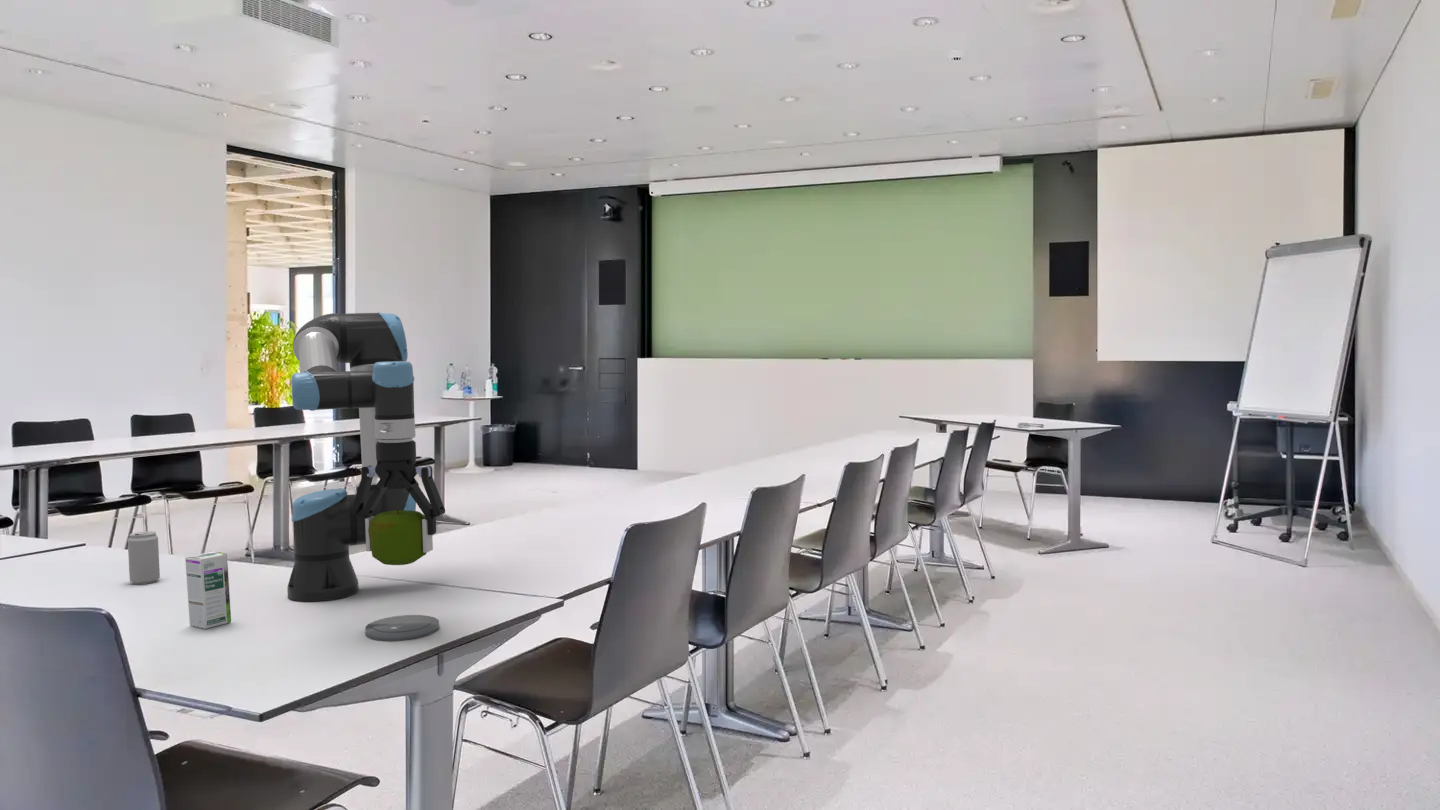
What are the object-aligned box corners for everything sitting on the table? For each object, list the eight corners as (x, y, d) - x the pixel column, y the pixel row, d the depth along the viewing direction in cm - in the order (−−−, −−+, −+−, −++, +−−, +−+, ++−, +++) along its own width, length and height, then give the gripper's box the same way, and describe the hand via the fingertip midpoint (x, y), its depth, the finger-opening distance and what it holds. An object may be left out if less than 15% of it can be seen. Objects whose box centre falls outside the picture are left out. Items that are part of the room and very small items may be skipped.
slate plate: (351, 639, 199) (351, 632, 199) (386, 619, 212) (386, 612, 212) (420, 642, 196) (419, 634, 196) (450, 621, 210) (450, 614, 210)
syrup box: (205, 629, 207) (201, 558, 206) (188, 625, 210) (184, 555, 209) (231, 622, 212) (228, 553, 211) (214, 618, 215) (211, 550, 214)
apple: (439, 556, 208) (437, 503, 207) (411, 568, 197) (409, 512, 196) (389, 554, 210) (387, 501, 209) (359, 566, 200) (356, 511, 199)
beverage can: (123, 584, 247) (121, 534, 246) (147, 578, 253) (144, 529, 252) (142, 586, 245) (140, 536, 244) (166, 580, 251) (163, 531, 250)
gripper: (329, 442, 200) (334, 553, 202) (444, 442, 196) (448, 555, 198) (349, 438, 207) (353, 545, 209) (460, 438, 204) (464, 547, 205)
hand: (399, 550), depth 203 cm, fingers closed on apple, 11 cm apart
